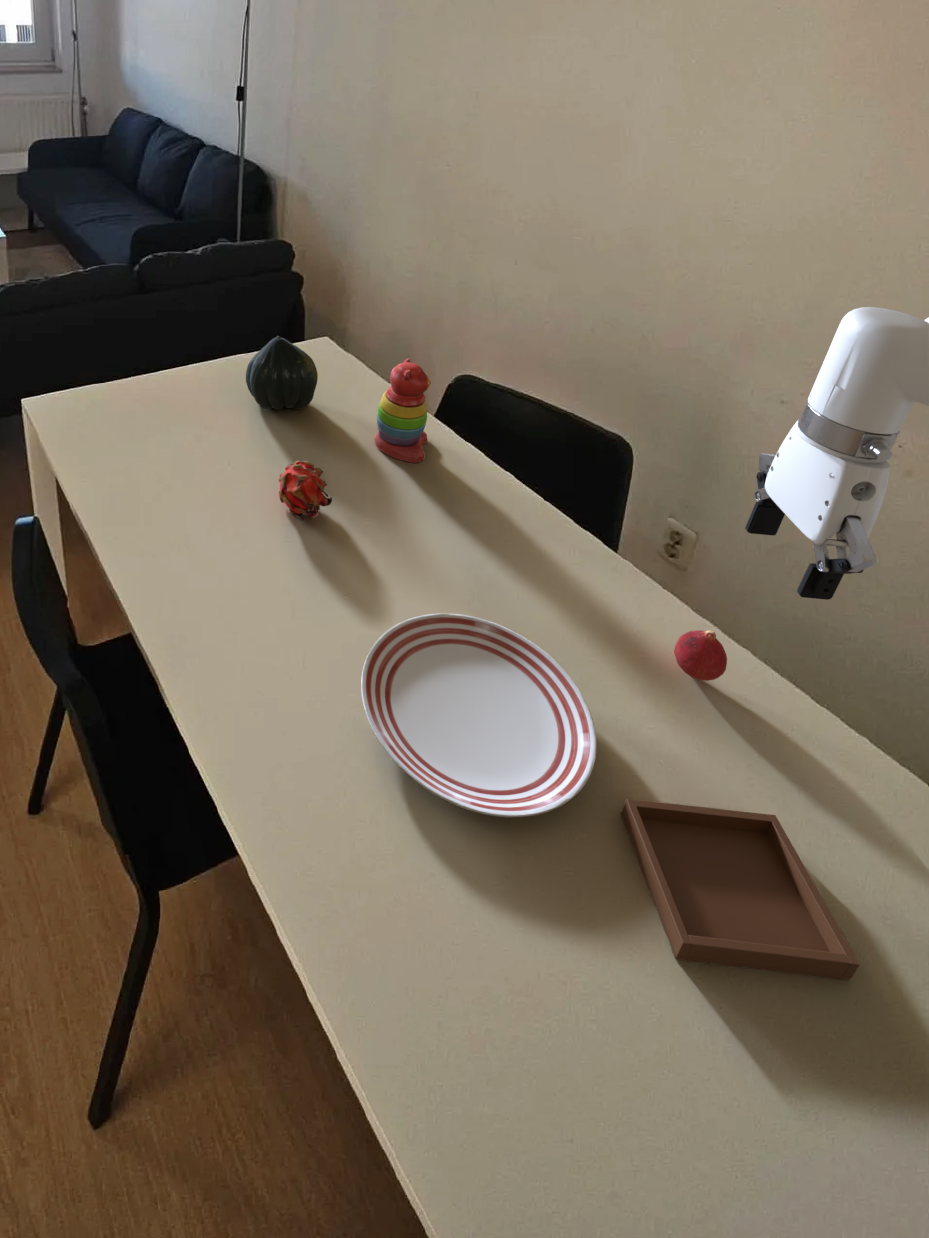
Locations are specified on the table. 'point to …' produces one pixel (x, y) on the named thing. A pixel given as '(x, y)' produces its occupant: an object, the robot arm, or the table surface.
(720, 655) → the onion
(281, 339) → the squash
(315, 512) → the dragon fruit
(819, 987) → the table surface
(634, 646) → the table surface
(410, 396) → the stacking bear
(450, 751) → the dinner plate
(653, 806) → the tray
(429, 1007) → the table surface
